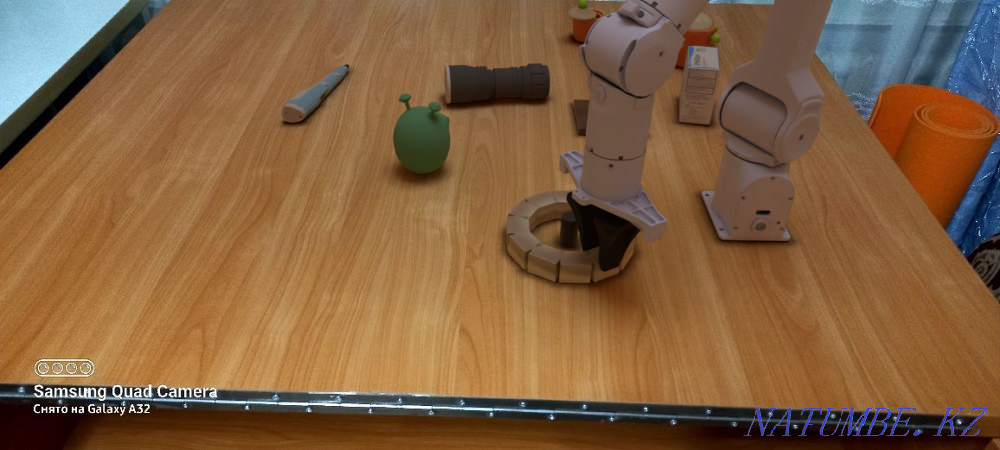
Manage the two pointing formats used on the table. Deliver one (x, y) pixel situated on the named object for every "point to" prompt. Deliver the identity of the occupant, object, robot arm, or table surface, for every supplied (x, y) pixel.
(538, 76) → the flashlight
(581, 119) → the stand
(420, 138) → the alien toy
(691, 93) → the medicine box
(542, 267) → the ring
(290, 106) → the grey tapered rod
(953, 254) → the table surface
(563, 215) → the low peg
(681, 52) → the toy tea set
